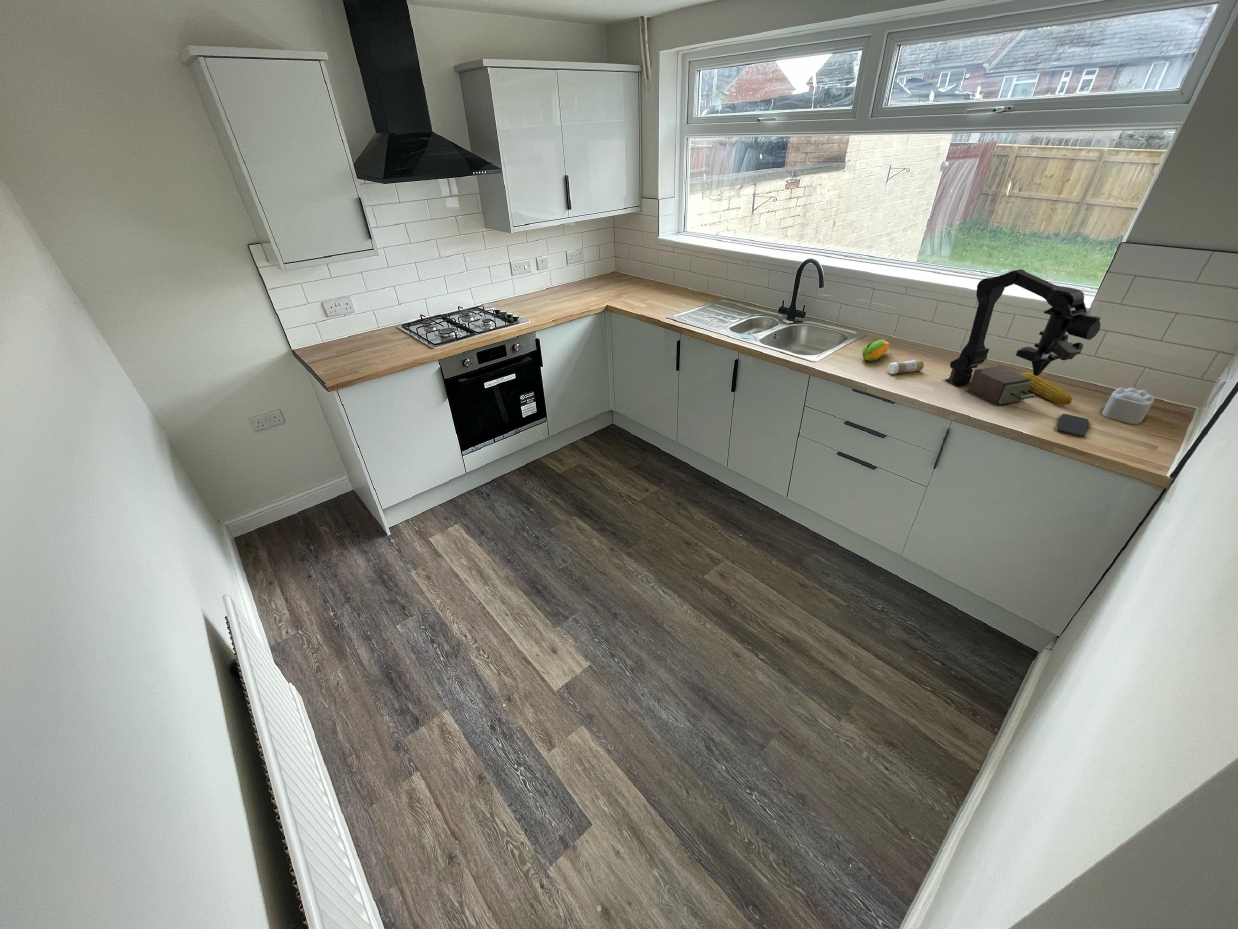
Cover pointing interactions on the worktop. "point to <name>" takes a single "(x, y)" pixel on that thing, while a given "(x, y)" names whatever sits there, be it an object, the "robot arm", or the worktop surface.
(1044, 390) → the food
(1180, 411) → the worktop surface
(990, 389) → the cabinet
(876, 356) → the corn
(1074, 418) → the phone
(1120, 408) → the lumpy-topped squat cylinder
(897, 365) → the sprinkles bottle
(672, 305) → the worktop surface
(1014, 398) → the drawer
